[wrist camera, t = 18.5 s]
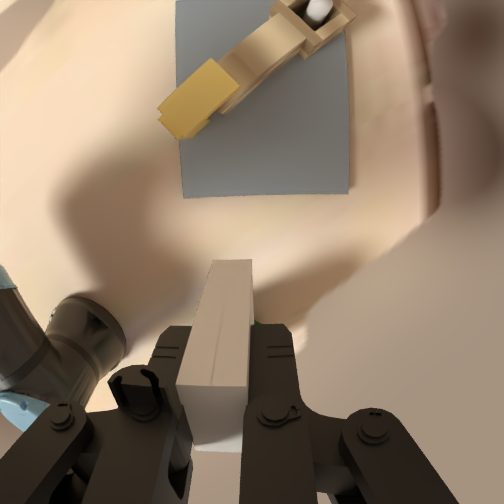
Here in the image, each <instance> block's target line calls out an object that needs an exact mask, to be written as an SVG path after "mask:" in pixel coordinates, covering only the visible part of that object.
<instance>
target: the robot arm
mask: <svg viewBox="0 0 504 504" xmlns="http://www.w3.org/2000/svg"><path fill="white" fill-rule="evenodd" d="M125 350H126V340H125V336H124V333H123V331H122V329H121V327H120V325H119V324H118V322H117V321H116V320H115V319H114V317H113V316H112V315H111V314H110V313H109V312H108V311H107V310H105V309H104V308H103V307H101V306H100V305H98V304H97V303H95V302H93V301H91V300H88V299H85V298H80V297H71V298H67V299H65V300H63V301H62V302H61V303H60V304H59V305H58V306H57V307H56V308H55V309H54V310H53V312H52V314H51V316H50V320H49V324H48V326H47V329H46V332H45V333H44V331H43V330H42V328H41V327H40V325H39V324H38V322H37V321H36V319H35V318H34V316H33V315H32V313H31V312H30V310H29V308H28V307H27V305H26V303H25V302H24V300H23V298H22V296H21V295H20V293H19V291H18V289H17V286H16V285H15V284H14V283H13V282H12V280H11V278H10V277H9V275H8V273H7V272H6V270H5V268H4V267H3V266H2V265H0V411H1V413H2V414H3V415H4V416H5V417H6V418H7V419H8V420H9V421H10V422H11V423H12V424H14V425H15V426H16V427H18V428H19V429H20V430H22V431H24V433H23V434H22V435H21V436H20V437H19V439H18V440H17V441H16V442H15V443H14V444H13V445H12V447H11V448H10V449H9V450H8V451H7V452H6V453H5V455H4V456H3V457H2V458H1V459H0V504H188V497H189V490H190V484H191V478H192V471H193V463H192V459H191V456H190V454H191V448H192V442H193V444H194V447H195V450H197V451H214V452H242V455H241V456H242V457H241V477H240V495H239V504H318V501H317V492H322V493H327V495H328V497H329V499H330V501H331V503H332V504H459V503H458V501H457V500H456V499H455V497H454V496H453V494H452V493H451V492H450V490H449V489H448V487H447V486H446V484H445V483H444V482H443V480H442V479H441V478H440V476H439V474H438V473H437V472H436V470H435V469H434V467H433V466H432V465H431V463H430V462H429V460H428V459H427V458H426V456H425V455H424V454H423V452H422V451H421V449H420V448H419V447H418V445H417V444H416V442H415V441H414V440H413V438H412V437H411V436H410V434H409V433H408V431H407V430H406V429H405V427H404V426H403V425H402V423H401V422H400V420H398V419H397V418H396V417H395V416H394V415H393V414H392V413H390V412H388V411H385V410H383V409H377V408H366V409H361V410H358V411H356V412H355V413H353V414H351V415H350V416H349V417H348V418H347V419H340V418H333V417H328V416H324V415H320V414H318V413H316V412H314V411H312V410H311V409H310V408H308V407H307V406H306V405H305V403H304V402H303V400H302V398H301V395H300V390H299V382H298V375H297V368H296V361H295V354H294V348H293V340H292V333H291V332H290V331H289V330H288V329H287V328H286V326H285V325H284V324H260V325H254V304H253V280H252V259H247V260H213V261H212V265H211V268H210V271H209V274H208V277H207V280H206V284H205V287H204V290H203V293H202V296H201V300H200V303H199V306H198V309H197V313H196V316H195V319H194V323H193V326H169V327H168V328H167V329H166V330H165V331H164V332H163V333H162V334H161V335H160V336H159V339H158V341H157V343H156V346H155V348H154V351H153V353H152V358H150V360H149V363H148V365H131V366H128V367H125V368H122V369H120V370H119V371H117V372H116V373H114V374H113V375H112V376H111V377H110V379H109V380H108V381H107V383H108V385H109V387H110V389H111V392H112V394H113V396H114V398H115V400H116V403H117V405H118V408H117V409H113V410H109V411H100V412H90V413H86V411H85V407H86V405H87V403H88V401H89V399H90V397H91V395H92V393H93V391H94V389H95V387H96V385H97V383H98V382H99V380H100V379H102V378H103V377H104V376H105V375H106V374H107V373H108V372H109V371H111V370H113V369H114V368H116V367H117V366H118V364H119V363H120V361H121V360H122V358H123V356H124V353H125Z"/></svg>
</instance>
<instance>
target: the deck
mask: <svg viewBox="0 0 504 504" xmlns="http://www.w3.org/2000/svg"><path fill="white" fill-rule="evenodd" d="M276 1H277V0H178V1H176V18H175V36H176V85H177V89H176V90H175V91H174V92H173V93H172V94H171V95H170V96H169V97H168V98H167V99H166V100H165V101H164V102H163V103H162V104H161V105H160V106H159V107H158V108H157V109H158V110H159V111H160V112H161V113H162V114H163V115H162V116H161V117H160V118H159V119H158V120H159V121H160V122H161V123H162V124H163V125H164V126H165V127H166V128H167V129H168V130H169V131H170V133H171V134H172V135H173V136H174V137H175V138H176V139H177V140H179V145H180V159H181V172H182V185H183V196H184V198H200V197H220V196H245V195H281V194H348V187H349V96H348V73H347V56H346V42H345V31H344V30H343V31H342V32H341V33H340V34H339V35H337V36H336V37H334V38H333V39H332V40H330V41H329V42H328V43H326V44H325V45H324V46H322V47H321V48H320V49H318V50H317V51H316V52H314V53H313V54H312V55H311V56H309V57H308V58H307V59H305V60H304V59H303V58H302V57H301V56H300V55H299V54H296V55H295V56H294V57H293V58H291V59H290V60H289V61H287V62H286V63H285V64H284V65H283V66H281V67H280V68H279V69H278V70H276V71H275V72H274V73H273V74H272V75H270V76H269V77H268V78H267V79H266V80H265V81H263V82H262V83H261V84H260V85H259V86H258V87H256V88H255V89H254V90H253V91H252V92H251V93H250V94H248V95H247V96H246V97H245V98H244V99H243V100H242V101H241V102H239V103H238V104H237V105H236V106H235V107H234V108H233V109H232V110H231V111H230V112H228V113H227V114H226V115H223V114H221V113H219V112H217V111H216V109H218V108H219V107H220V106H221V105H222V104H223V103H224V102H225V101H227V100H228V99H229V98H230V97H231V96H232V95H233V94H235V93H236V92H237V91H238V90H239V89H240V88H241V87H240V85H239V84H238V83H237V82H236V81H235V80H234V79H233V78H232V77H231V76H230V75H229V74H228V73H227V72H225V71H224V70H223V69H222V68H221V67H220V66H219V65H218V64H217V62H218V61H219V60H220V59H221V58H222V57H223V56H225V55H226V54H227V53H228V52H229V51H230V50H232V49H233V48H234V47H235V46H236V45H238V44H239V43H240V42H241V41H242V40H244V39H245V38H246V37H247V36H249V35H250V34H251V33H252V32H254V31H255V30H256V29H257V28H259V27H260V26H261V25H263V24H264V23H265V22H267V21H268V20H269V14H270V5H272V4H273V3H275V2H276ZM332 6H333V1H332V0H311V1H310V3H309V5H308V7H307V10H304V11H302V12H301V13H300V14H298V15H297V16H299V17H300V18H301V19H302V20H303V21H304V22H305V23H306V24H307V25H308V26H309V27H310V28H311V29H312V30H313V31H314V32H315V31H317V30H318V29H319V28H321V27H322V25H321V23H322V22H323V20H324V19H325V17H326V16H327V14H328V13H329V11H330V9H331V8H332Z"/></svg>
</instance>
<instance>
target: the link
mask: <svg viewBox="0 0 504 504" xmlns="http://www.w3.org/2000/svg"><path fill="white" fill-rule="evenodd" d="M310 1H311V0H277V1H276V2H275V3H273V4H272V5H270V14H269V20H268V21H267V22H265V23H264V24H263V25H261V26H260V27H259V28H257V29H256V30H255V31H254V32H252V33H251V34H250V35H249V36H247V37H246V38H245V39H244V40H242V41H241V42H240V43H239V44H238V45H236V46H235V47H234V48H233V49H232V50H230V51H229V52H228V53H227V54H226V55H225V56H223V57H222V58H221V59H220V60H219V61H218V62H217V64H218V65H219V66H220V67H221V68H222V69H223V70H224V71H225V72H227V73H228V74H229V75H230V76H231V77H232V78H233V79H234V80H235V81H236V82H237V83H238V84H239V85H240V87H241V88H240V89H239V90H238V91H237V92H236V93H235V94H233V95H232V96H231V97H230V98H229V99H228V100H227V101H225V102H224V103H223V104H222V105H221V106H220V107H219V108H218V109H216V111H217V112H219V113H221V114H223V115H226V114H227V113H228V112H230V111H231V110H232V109H233V108H234V107H235V106H236V105H237V104H238V103H239V102H241V101H242V100H243V99H244V98H245V97H246V96H247V95H248V94H250V93H251V92H252V91H253V90H254V89H255V88H256V87H258V86H259V85H260V84H261V83H262V82H263V81H265V80H266V79H267V78H268V77H269V76H270V75H272V74H273V73H274V72H275V71H276V70H278V69H279V68H280V67H281V66H283V65H284V64H285V63H286V62H287V61H289V60H290V59H291V58H293V57H294V56H295V55H296V54H299V55H300V56H301V57H302V58H303V59H304V60H305V59H307V58H308V57H309V56H311V55H312V54H313V53H314V52H316V51H317V50H318V49H320V48H321V47H322V46H324V45H325V44H326V43H328V42H329V41H330V40H332V39H333V38H334V37H336V36H337V35H339V34H340V33H341V32H342V31H343V30H344V29H345V28H346V27H347V26H348V25H349V24H350V23H351V22H352V20H353V19H354V18H355V17H356V16H357V15H356V14H355V13H354V12H353V11H352V10H351V9H350V8H348V7H347V6H346V5H345V4H344V3H343V2H342V1H341V0H332V1H333V6H332V8H331V9H330V11H329V13H328V14H327V16H326V17H325V19H324V20H323V22H322V23H321V25H322V27H321V28H319V29H318V30H317V31H315V32H314V31H313V30H312V29H311V28H310V27H309V26H308V25H307V24H306V23H305V22H304V21H303V20H302V19H301V18H300V17H299V16H297V15H298V14H300V13H301V12H302V11H304V10H307V7H308V5H309V3H310Z"/></svg>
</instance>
